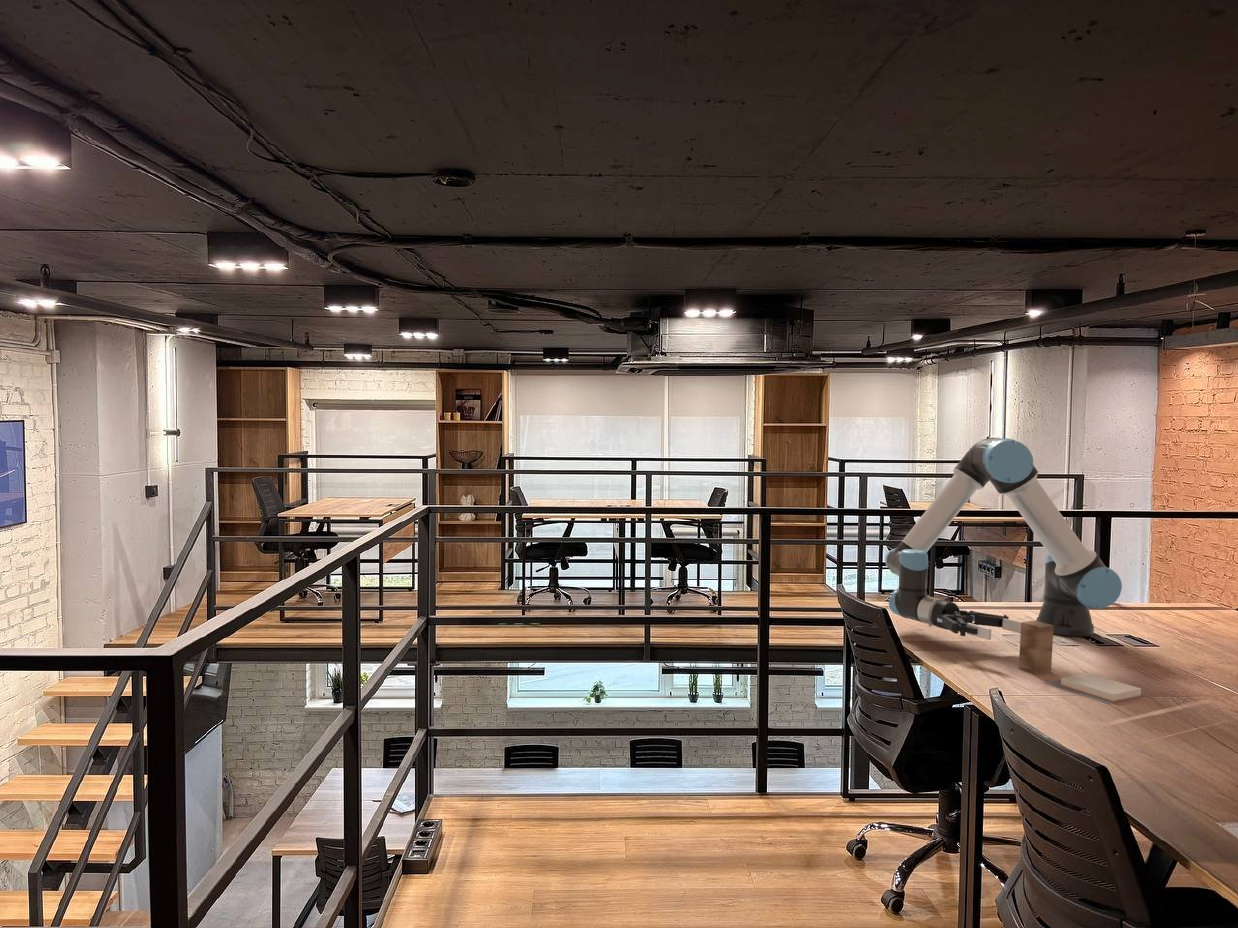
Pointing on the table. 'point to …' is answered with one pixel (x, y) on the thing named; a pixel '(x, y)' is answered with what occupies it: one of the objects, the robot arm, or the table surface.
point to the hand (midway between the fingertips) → (1008, 631)
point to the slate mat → (1058, 685)
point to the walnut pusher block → (1036, 647)
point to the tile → (1101, 687)
